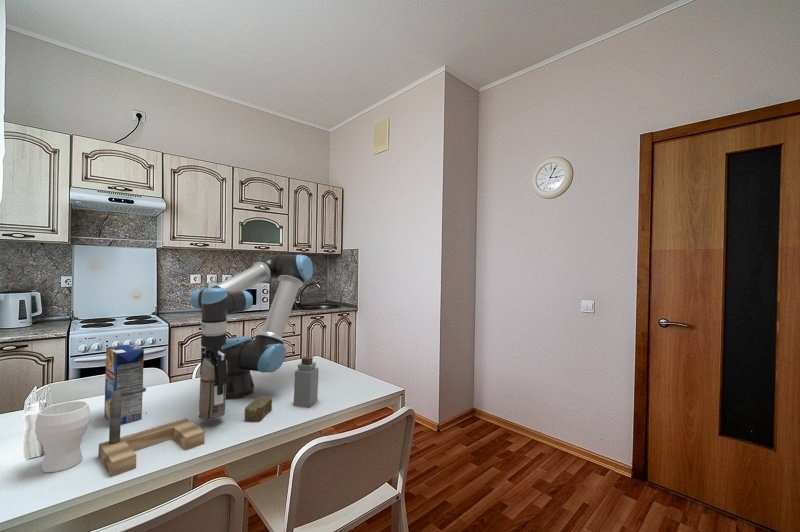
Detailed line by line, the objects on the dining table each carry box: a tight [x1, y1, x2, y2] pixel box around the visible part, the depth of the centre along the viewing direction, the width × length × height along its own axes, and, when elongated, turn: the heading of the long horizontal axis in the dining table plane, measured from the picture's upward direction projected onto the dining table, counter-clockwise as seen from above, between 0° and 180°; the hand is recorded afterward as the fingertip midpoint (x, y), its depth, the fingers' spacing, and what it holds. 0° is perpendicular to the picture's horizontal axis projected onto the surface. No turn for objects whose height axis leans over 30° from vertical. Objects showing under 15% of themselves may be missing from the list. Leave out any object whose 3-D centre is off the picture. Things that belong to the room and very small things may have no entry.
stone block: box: [244, 396, 273, 422], centre depth 126 cm, size 6×12×5 cm, turn 178°
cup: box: [34, 400, 92, 473], centre depth 93 cm, size 11×11×15 cm
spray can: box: [198, 358, 227, 421], centre depth 119 cm, size 8×8×20 cm
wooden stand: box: [98, 387, 206, 477], centre depth 101 cm, size 14×22×18 cm, turn 142°
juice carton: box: [103, 343, 145, 426], centre depth 120 cm, size 12×8×24 cm, turn 53°
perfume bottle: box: [293, 356, 319, 409], centre depth 138 cm, size 7×7×18 cm
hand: (212, 400), depth 119 cm, fingers closed on spray can, 8 cm apart
